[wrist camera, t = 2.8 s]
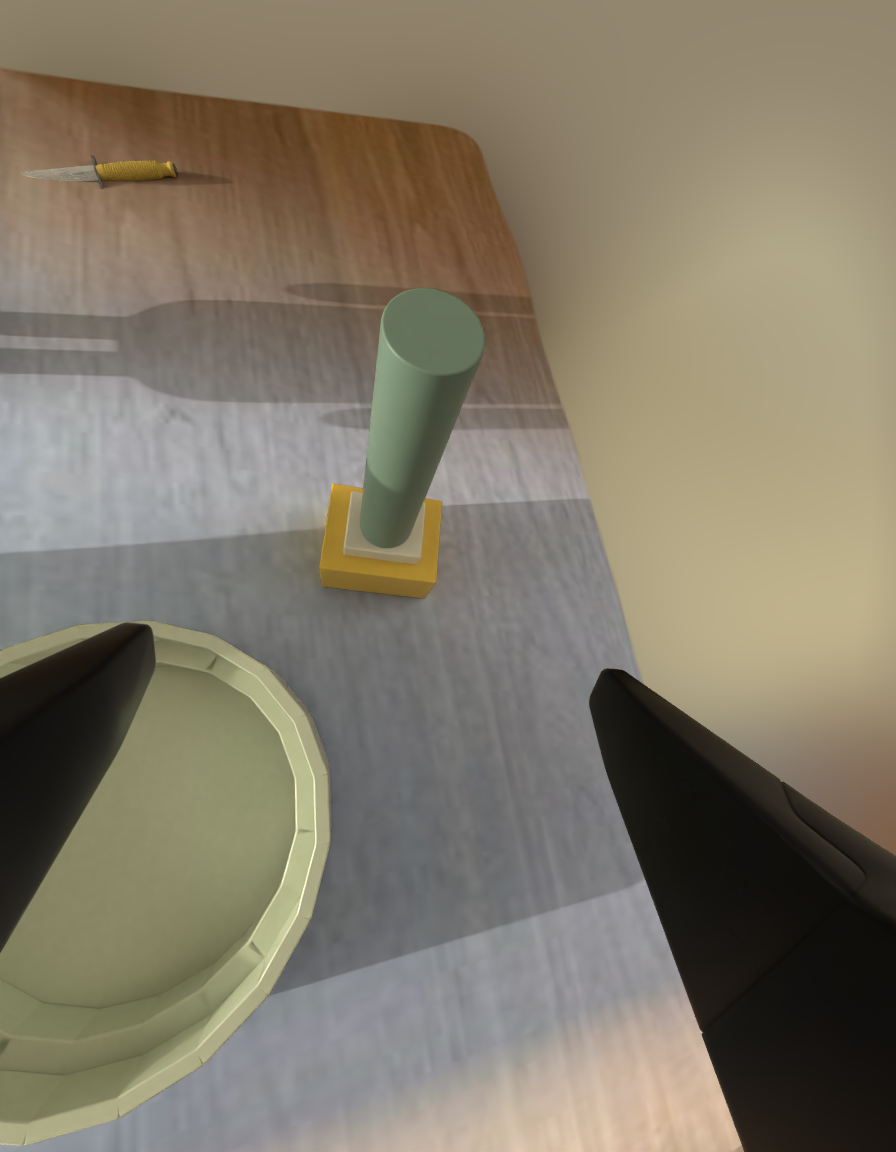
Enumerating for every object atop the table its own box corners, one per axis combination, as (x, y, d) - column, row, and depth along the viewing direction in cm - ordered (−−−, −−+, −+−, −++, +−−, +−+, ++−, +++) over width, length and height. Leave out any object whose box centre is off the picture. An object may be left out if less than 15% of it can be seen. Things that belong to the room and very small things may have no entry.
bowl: (381, 901, 19) (391, 947, 15) (-31, 1146, 15) (-158, 1295, 11) (267, 592, 21) (252, 567, 18) (-115, 724, 17) (-243, 728, 13)
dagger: (-45, 194, 24) (-56, 156, 24) (-31, 208, 24) (-42, 172, 24) (178, 178, 26) (168, 144, 26) (183, 192, 27) (173, 159, 27)
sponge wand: (430, 525, 24) (547, 284, 11) (424, 598, 23) (547, 435, 9) (333, 510, 23) (324, 226, 10) (321, 586, 22) (293, 385, 8)
